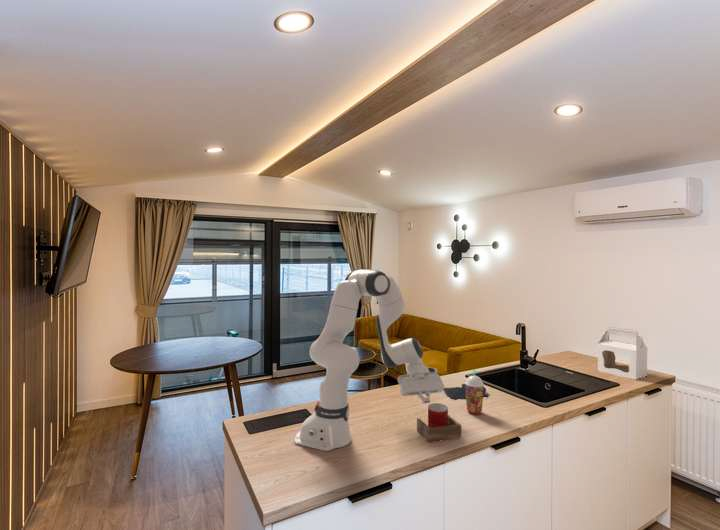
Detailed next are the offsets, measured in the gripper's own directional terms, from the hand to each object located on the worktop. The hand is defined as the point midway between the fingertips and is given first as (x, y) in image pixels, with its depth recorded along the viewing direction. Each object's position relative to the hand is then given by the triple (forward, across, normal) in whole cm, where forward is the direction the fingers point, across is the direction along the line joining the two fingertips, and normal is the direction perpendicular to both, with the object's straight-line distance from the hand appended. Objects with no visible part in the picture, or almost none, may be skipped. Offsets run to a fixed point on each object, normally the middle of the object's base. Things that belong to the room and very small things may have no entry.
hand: (426, 402), depth 166 cm
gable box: (-16, +148, +27) cm, 151 cm away
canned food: (+13, 0, 0) cm, 13 cm away
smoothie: (+3, +27, +10) cm, 29 cm away
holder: (+13, 0, 0) cm, 13 cm away
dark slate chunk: (-13, +36, +26) cm, 46 cm away
